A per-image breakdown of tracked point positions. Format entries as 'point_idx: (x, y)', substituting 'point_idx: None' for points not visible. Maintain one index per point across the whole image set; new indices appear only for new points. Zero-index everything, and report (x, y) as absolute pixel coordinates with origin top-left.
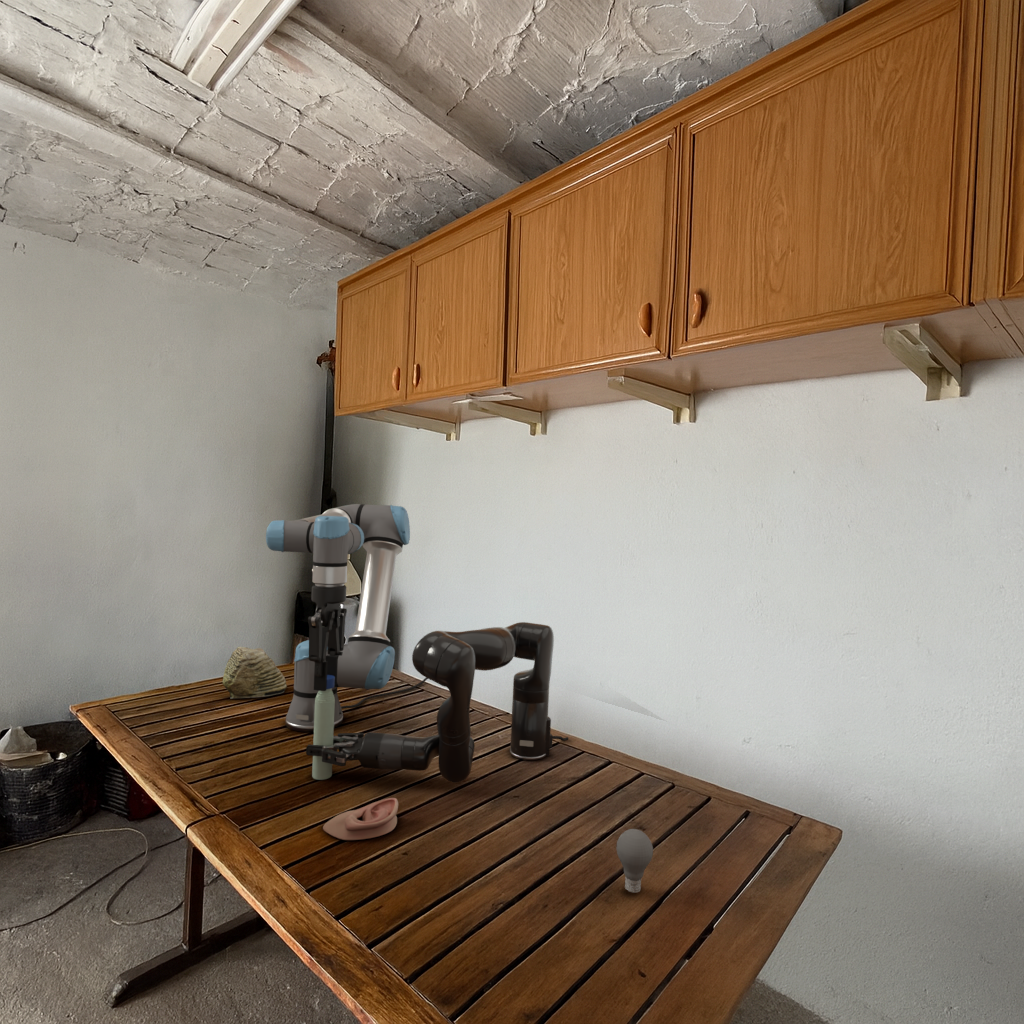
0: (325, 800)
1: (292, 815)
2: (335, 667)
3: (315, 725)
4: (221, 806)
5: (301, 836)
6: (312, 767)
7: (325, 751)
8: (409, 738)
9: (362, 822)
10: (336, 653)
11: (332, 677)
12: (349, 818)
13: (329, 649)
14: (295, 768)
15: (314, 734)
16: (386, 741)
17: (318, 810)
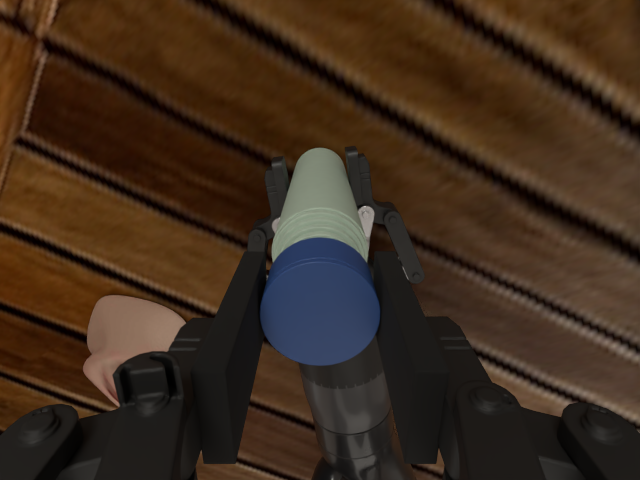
0: (209, 243)
1: (121, 212)
2: (388, 387)
3: (286, 199)
4: (69, 17)
5: (65, 271)
6: (304, 156)
7: (248, 243)
8: (348, 444)
9: (108, 380)
10: (444, 477)
11: (328, 355)
12: (98, 362)
13: (459, 451)
14: (340, 76)
15: (292, 185)
16: (320, 396)
17: (164, 251)
